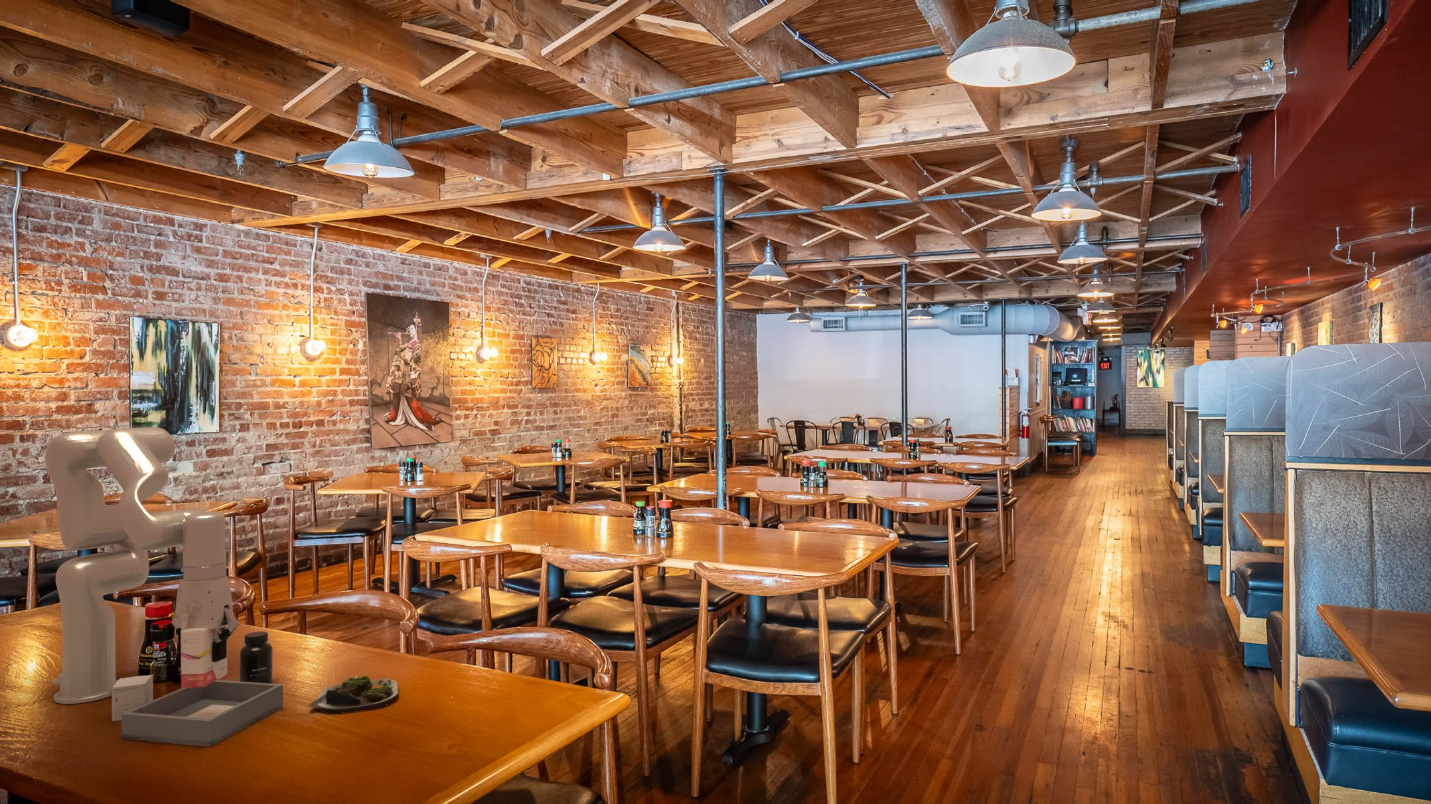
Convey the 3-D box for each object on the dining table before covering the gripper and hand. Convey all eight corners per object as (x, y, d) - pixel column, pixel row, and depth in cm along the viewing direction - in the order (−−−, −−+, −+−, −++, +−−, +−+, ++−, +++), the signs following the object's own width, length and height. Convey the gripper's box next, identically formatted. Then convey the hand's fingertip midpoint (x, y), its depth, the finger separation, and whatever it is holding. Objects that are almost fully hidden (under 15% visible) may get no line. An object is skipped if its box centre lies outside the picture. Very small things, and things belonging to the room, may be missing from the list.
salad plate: (317, 688, 188) (317, 669, 188) (400, 679, 194) (399, 660, 194) (306, 720, 170) (306, 698, 170) (397, 708, 176) (397, 687, 176)
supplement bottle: (257, 691, 185) (257, 639, 185) (232, 689, 187) (231, 637, 187) (279, 680, 192) (279, 630, 192) (254, 679, 193) (254, 629, 193)
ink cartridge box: (205, 688, 163) (204, 615, 163) (180, 688, 163) (179, 616, 163) (229, 673, 171) (228, 604, 171) (205, 674, 171) (204, 605, 171)
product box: (111, 722, 168) (110, 687, 168) (120, 711, 174) (119, 677, 174) (146, 717, 170) (145, 683, 170) (153, 707, 176) (153, 674, 176)
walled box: (121, 739, 160) (121, 714, 160) (203, 701, 179) (203, 678, 179) (209, 747, 156) (209, 721, 156) (283, 707, 176) (282, 684, 176)
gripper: (153, 575, 165) (154, 663, 165) (226, 577, 162) (228, 667, 162) (184, 567, 173) (185, 651, 173) (254, 569, 169) (255, 655, 170)
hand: (206, 658), depth 167 cm, fingers closed on ink cartridge box, 5 cm apart
